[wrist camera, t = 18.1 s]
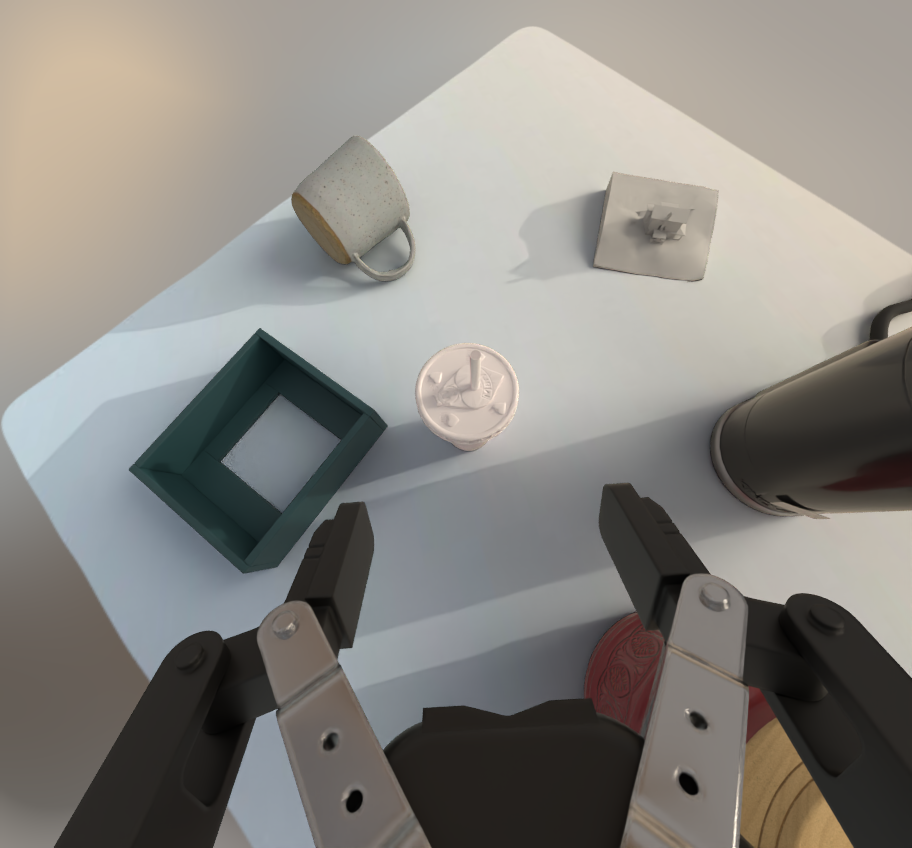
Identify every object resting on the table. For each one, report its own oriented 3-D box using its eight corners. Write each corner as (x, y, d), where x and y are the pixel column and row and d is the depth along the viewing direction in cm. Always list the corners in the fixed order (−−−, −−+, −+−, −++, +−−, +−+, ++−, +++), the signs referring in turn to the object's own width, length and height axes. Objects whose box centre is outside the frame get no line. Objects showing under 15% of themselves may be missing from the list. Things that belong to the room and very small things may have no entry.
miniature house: (595, 286, 35) (609, 258, 31) (582, 190, 38) (593, 155, 34) (727, 280, 34) (757, 250, 31) (703, 183, 37) (728, 146, 34)
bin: (286, 352, 35) (259, 327, 30) (388, 425, 32) (374, 410, 28) (174, 477, 32) (127, 469, 28) (277, 567, 30) (243, 574, 25)
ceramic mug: (307, 240, 38) (267, 172, 30) (367, 192, 39) (343, 115, 32) (377, 305, 36) (352, 248, 28) (438, 251, 37) (430, 184, 29)
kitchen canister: (729, 871, 23) (1401, 1774, 6) (545, 737, 26) (684, 1142, 9) (800, 672, 26) (1410, 944, 9) (627, 567, 28) (857, 626, 11)
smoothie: (518, 451, 31) (552, 393, 18) (446, 478, 31) (424, 440, 17) (490, 384, 33) (500, 284, 19) (421, 409, 33) (383, 326, 19)
